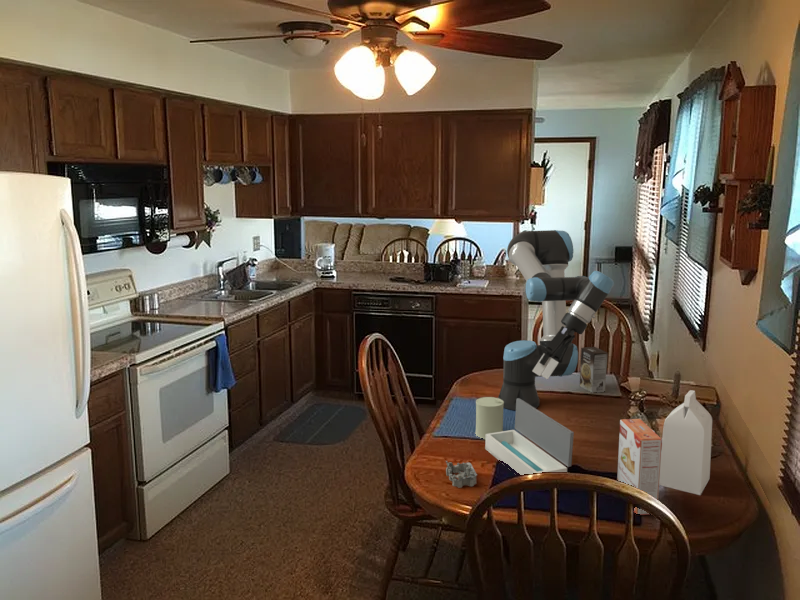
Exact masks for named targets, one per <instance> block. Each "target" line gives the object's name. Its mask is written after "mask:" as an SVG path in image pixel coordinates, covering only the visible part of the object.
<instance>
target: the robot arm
mask: <svg viewBox="0 0 800 600" xmlns="http://www.w3.org/2000/svg"><path fill="white" fill-rule="evenodd" d="M506 254H507V258H508V259H509V262H511V263H512V265H514V266H516V267H517V268H518V270H519V272H520V273H521V275H522V277H523V279H524V280H525V281H526V283H525V294H526V298H527V300H528V301H530V302H539V303H541V305H542V307H541V308H542V310H541V311H542V326H543V327H542V331H543V336H542V337H541V338H540V339H539V344H537V343H536V342H535V341H533V340H526V339H525V340H523V339H522V340H516V341H512V342H510V343H508V344H506V345H505V347H504V351H503V357H502V358H503V374H502V375H503V377H502V378H503V379H502V380H503V381H502V386H501V388H500V392H499V394H498V397H497V398H499V399H501V400H503V401H504V406H503V409H507V410H512V411H516V399H517V398H520V399H521V400H523V401H524V402H526V403H528V404H529V405H531V406H532V407H534V408H536V409H537V408H539V406H540V397H539V394H538V392H537V387H536V377H539V378H540V377H543V378H544V379H546V380H549V379H550V377H563V376H565V377H567V376H571V375H573V374H574V373H575V371H576V369H577V365H578V359H579V351H578V346H577V345H576V344H574V343H572V342H573V340H575V338H576V335H575V333H577V334H578V335H583V333H584V332H585V330H586V329H587V328H588V324H589V323H590V322H591V321H592V319H595V318H596V315H595V314H596V313H597V312H598V310H599V308H600V307H601V306H602V304H603V303H604V301H605V300H606V298H607V296H608V295H609V294H610V293H611V291H612V288H613V287H614V285H615V281H614V279H612V278H611V277H609V276H608V275H607V274H604V273H603V272H602V271H598V270H593V272H591V274H590V275H589V276H586V275H585V276H584V275H578V276H568V277H567V276H566V275H565V270H566V269H567V268H568V267H569V262H571V261H572V260H573V259H574V245H573V241H572V238H571V235H570V234H569V233H568V232H567V231H565V230H558V229H553V230H552V229H550V230H549V229H548V230H525V231H521V232H519V233H517V234H516V235H515V236H513V237H512V239H510V241H509V242H508V246H507V249H506ZM566 301H567V302H568V301H572V303H571V304H570V306H569V307H568V308H567V304H566V303H567V302H566ZM567 309H568V312H567Z"/></svg>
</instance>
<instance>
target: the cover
mask: <svg viewBox="0 0 800 600" xmlns="http://www.w3.org/2000/svg"><path fill="white" fill-rule="evenodd" d="M514 416H515V418H514V419H515V420H514V430H515V431H516V432H518V433H519V434H521V435H522V436H523V437H525V438H526V439H528V440H529V441H530V442H532V443H533V444H535V445H536V446H537V447H539V448H540V449H542V450H543V451H544V452H546V453H547V454H548V455H550V456H551V457H553V458H554V459H555V460H557V461H558V462H560V463H561V464H562V465H564V466H565V467H566V466H567V468H569V467H572V461H573V446H574V433H575V432H574V431H573V430H572V429H571V430H570V429H569V428H568V427H566V426H564V425H562V424H561V423H559V422H558V421H556V420H554V419H553V418H552V417H549V416H548V415H547V414H545V413H544V412H542V411H540V410H539V409H537V408H534V407H532V406H531V405H529V404H528V403H526V402H524V401H523V400H521V399H520V398H517V399H516V410H515V414H514Z"/></svg>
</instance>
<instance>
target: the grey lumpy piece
mask: <svg viewBox="0 0 800 600" xmlns="http://www.w3.org/2000/svg"><path fill="white" fill-rule="evenodd" d="M445 463H446V469H445V475H446V476H447V477H448V479H449V481H450V482H452V487H457V488H458V489H459V488H460V489H461V488H463V486H468V487H474V486H475V485H476V484H477V476H478V474H477V472H476V470H475V469H474V466H473V464H472V463H471V462H462V463H460V462H457V464H456V465H454V463H453V462H451V461H449V462H448V460H445Z"/></svg>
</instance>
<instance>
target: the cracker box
mask: <svg viewBox="0 0 800 600" xmlns="http://www.w3.org/2000/svg"><path fill="white" fill-rule="evenodd" d="M654 431H655V430H654ZM654 431H653V429H652V428H650V426H648V424H646V423H645V422H644V421H643V420H642V418H633V419H632V418H627V419H626V418H624V419H620V420H619V436H618V438H619V439H618V457H617V459H618V460H617V477H616V481H617V480H618V481H621V482H624V483H626V484H629V485H632V486H634V487H636V488H638V489H640V490H643V491H645V492H647V493H648V494H650V495H652V496H653V497H655V498H656V499H657V500H658V501H659V497H660V496H659V494H660V485H659V481H660V465H661V450H662V438H661V437H660V436H659V435H658V434H657V432H654ZM633 512H634V514H635V513H636V514H640V515H639V516H646V515H650V514H649V513H647V512H646V511H644V510H642V509H639V508H637V507H635V508H634V511H633ZM636 514H635V515H636ZM650 516H651V515H650Z"/></svg>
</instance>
